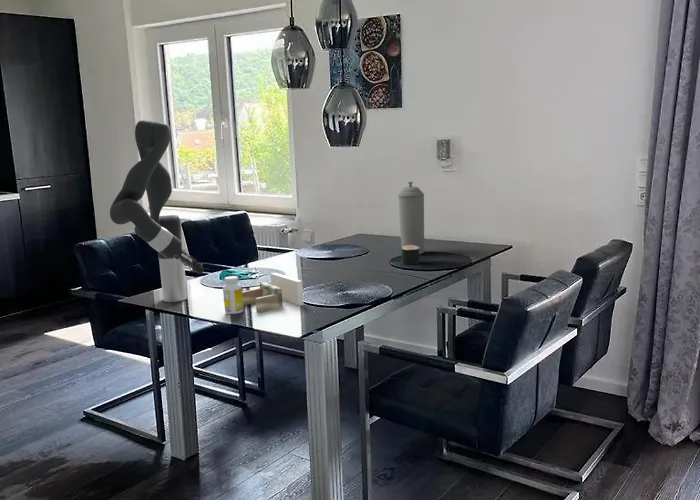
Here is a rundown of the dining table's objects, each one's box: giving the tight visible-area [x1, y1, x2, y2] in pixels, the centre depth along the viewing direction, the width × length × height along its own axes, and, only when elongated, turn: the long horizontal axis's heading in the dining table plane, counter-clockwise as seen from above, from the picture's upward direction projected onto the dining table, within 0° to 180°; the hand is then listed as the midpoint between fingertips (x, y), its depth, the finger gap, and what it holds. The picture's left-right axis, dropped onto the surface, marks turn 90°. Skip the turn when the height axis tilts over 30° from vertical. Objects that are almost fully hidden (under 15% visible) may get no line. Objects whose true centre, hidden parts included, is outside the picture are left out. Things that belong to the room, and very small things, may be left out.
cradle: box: [242, 281, 284, 313], centre depth 249 cm, size 14×10×7 cm
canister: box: [397, 181, 425, 255], centre depth 328 cm, size 13×13×35 cm
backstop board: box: [270, 272, 304, 306], centre depth 255 cm, size 20×2×9 cm, turn 35°
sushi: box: [401, 245, 420, 266], centre depth 309 cm, size 8×8×8 cm
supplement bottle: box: [222, 275, 245, 315], centre depth 243 cm, size 7×7×13 cm
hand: (202, 271), depth 235 cm, fingers closed
